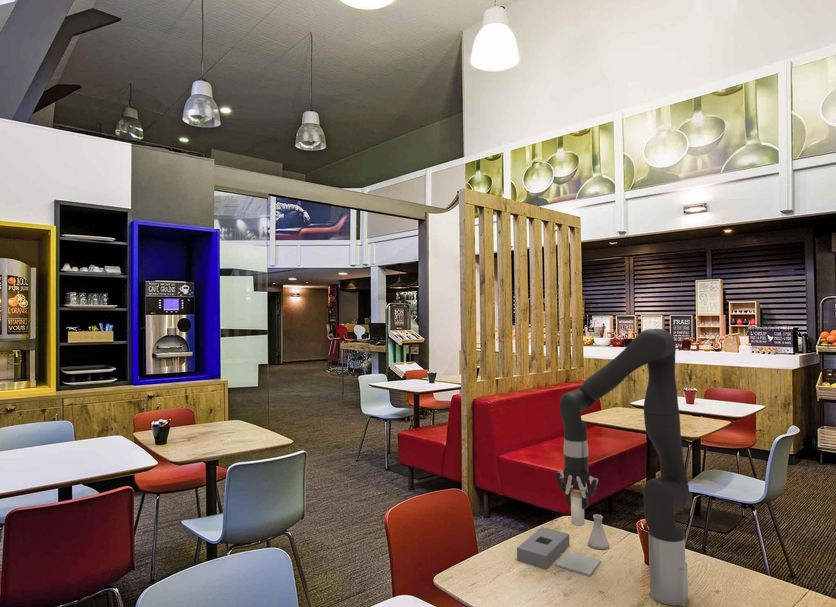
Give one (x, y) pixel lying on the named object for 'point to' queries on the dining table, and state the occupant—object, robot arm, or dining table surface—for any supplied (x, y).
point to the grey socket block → (543, 547)
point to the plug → (577, 508)
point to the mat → (578, 563)
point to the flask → (598, 534)
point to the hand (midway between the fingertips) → (577, 506)
